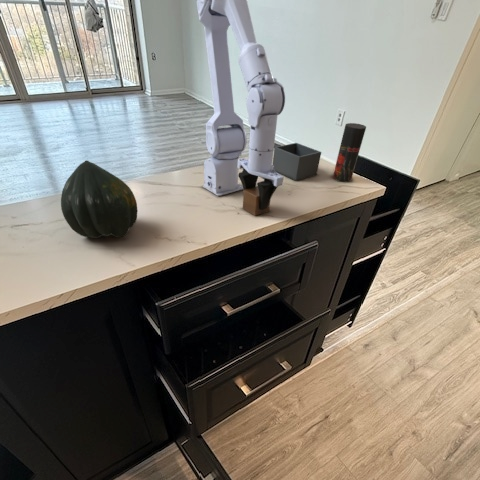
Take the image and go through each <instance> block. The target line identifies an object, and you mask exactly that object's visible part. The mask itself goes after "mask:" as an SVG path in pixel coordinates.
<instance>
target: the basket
mask: <svg viewBox="0 0 480 480" xmlns="http://www.w3.org/2000/svg"><path fill="white" fill-rule="evenodd" d="M321 156H322V151H320V150H317V149H314V148H312V147H309V146H306V145H303V144H301V143H298V142H294V143H288V144H284V145H282V144H279V143H276V142H274V151H273V159H272V165H273V166H274V168H273V169H274V170H275V171H276V172H277V173H278V174H279V175H281V176H283V177H285V178H288V179H291V180H292V181H295V182H297V181H301V180H304V179H307V178H310V177H313V176H317V175H318V170H319V166H320V162H321V161H320V160H321Z"/></svg>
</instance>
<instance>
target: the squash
mask: <svg viewBox="0 0 480 480" xmlns="http://www.w3.org/2000/svg"><path fill="white" fill-rule="evenodd" d="M137 202H138V201H137V199H136V197H135V194H134V192H133V191H132V189H131V188H130V186H129V185H128V184H127V183H125V182H124V180H122V179H120V178H119V177H118V176H116V175H114V174H112V173H111V172H109V171H107V170H106V169H105V168H102V167H101V166H99V165H98V164H96V163H94V162H91V161H89V160H88V159H87V160H84V161H83V162H82V163H80V164H79V165H78V166H77V167H76V168H75V169H74V171H73V172H72V173H71V174H70V175H69V177H68V178H67V179H66V181H65V183H64V185H63V188H62V191H61V197H60V208H61V209H60V210H61V213H62V216H63V217H64V219H65V222H66V224H68V226H69V227H70V228H71V230H72V231H74V232H75V233H76V234H78V235H79V236H81V237H84V238H93V239H98V238H100V237H102V236H103V237H109V236H110V235H112V236H114V237H116V238H122V237H124V236H126V235H127V234H128V233H129V230H130V229H131V228H133V227H134V225H135V224H136V222H137V217H138V212H139V211H138V203H137Z"/></svg>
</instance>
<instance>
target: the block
mask: <svg viewBox="0 0 480 480" xmlns="http://www.w3.org/2000/svg"><path fill="white" fill-rule="evenodd" d="M270 206H271V200H270V201H269V204H268V207H267V209H264V210H260V208H259V189H258V185H256V187H252V188H248V189H245V190H244V189H243V195H242V209H243V210H244V211H246V212H247V213H249V214H251V215H253V216H254V217H256V216H258V215H263V214H265V213H268V212H270V208H271V207H270Z"/></svg>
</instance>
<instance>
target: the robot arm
mask: <svg viewBox="0 0 480 480" xmlns="http://www.w3.org/2000/svg"><path fill="white" fill-rule="evenodd" d="M248 2H249V0H196V8H197V9H196V10H197V13H198V21H199V22H200V23H201V24H202V25H203V29H204V39H205V46H206V56H207V63H208V72H209V79H210V80H209V81H210V89H211V97H212V105H213V115H212V116H210V118H209V119H208V121H207V122H206V123H205V146H206V149H207V151H208V153H209V154H210V157H209V158H206V159H205V160H204V163H203V183H204V184H203V185H202V187H203V188H204V189H206V190H208V191H209V192H211V193H212V194H214V195H216V196H217V197H221V196H224V195H228V194H232V193H235V192H238V191H242V190H243V191H244V190H245V189H248V188H252V187H256V186H258V189H259V208H260V210H264V209H267V207H268V204H269V201H270V202H271V199H272V197H273V195H274V193H275V191H276V190H277V188H278V187H280V186H283V183H284V175H281V174H279V173H277V172H276V171H275V170H274V169H273V168H274V166H273V156H274V143H276V142H275V141H276V131H277V124H278V116H279V115H281V114H282V113H283V111H284V108H285V105H286V94H285V93H286V92H285V87H284V86H283V84H282V83H280V82H279V81H278V79H277V78H276V77H274V76H273V72H272V69H271V65H270V63H269V59H268V56H267V53H266V49H265V47H264V46H263V44H260V43H257V39H256V35H255V30H254V25H253V22H252V16H251V13H250V8H249V3H248ZM229 27H230V28H231V30H232V33H233V35H234V37H235V40H236V42H237V45H238V47H239V50H240V54H239V56H238V65H239V68H240V71H241V74H242V77H243V80H244V84H245V87H246V90H247V92H248V93H247V97H246V98H245V102H246V103H245V105H246V109H247V113H248V117H247V118H248V125H250V127H249V141H248V140H247V139H248V138H247V133H246V131H245V126H244V120H243V118H241V117H240V116H239V115H238V114H237V113H236V112H235V106H234V95H233V94H234V93H233V84H232V74H231V61H230V52H229V51H230V50H229V40H228V30H229ZM223 126H227V127H223ZM228 126H229V127H228ZM247 141H248V142H249V143H248V159H247V158H240V157H241V156H242V153H243V152H244V151H245V149H246V148H247V147H246V146H247ZM239 169H241V170H242V171H241V172H239ZM259 178H261V179H263V180H262V181H258V179H259ZM239 181H240V182H241V184H239Z"/></svg>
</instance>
